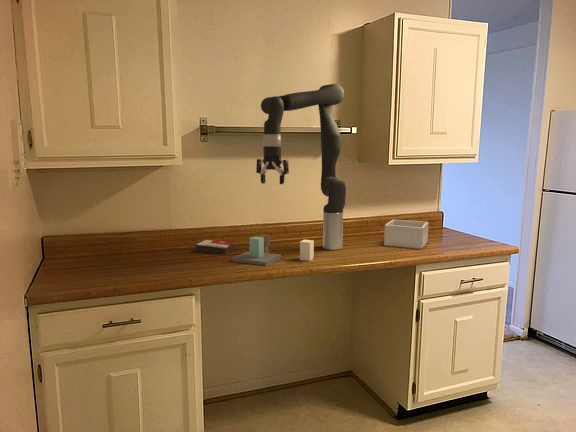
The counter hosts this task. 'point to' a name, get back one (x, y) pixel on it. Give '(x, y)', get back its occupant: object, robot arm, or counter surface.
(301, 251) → the cream block
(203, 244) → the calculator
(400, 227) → the box
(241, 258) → the grey flat slab
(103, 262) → the counter surface
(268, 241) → the walnut block
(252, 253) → the teal block
